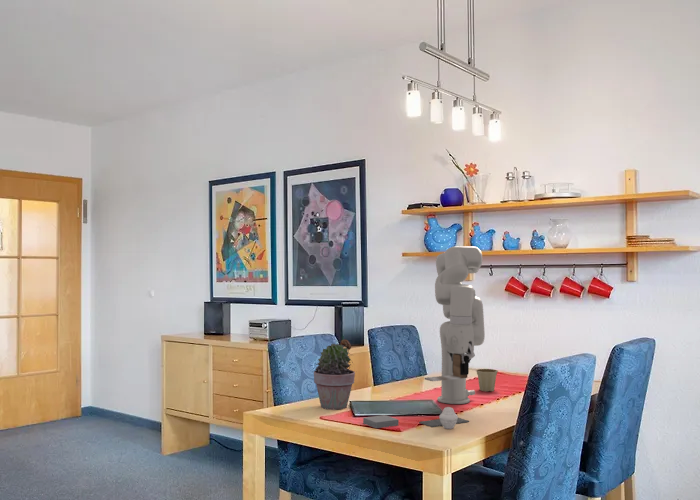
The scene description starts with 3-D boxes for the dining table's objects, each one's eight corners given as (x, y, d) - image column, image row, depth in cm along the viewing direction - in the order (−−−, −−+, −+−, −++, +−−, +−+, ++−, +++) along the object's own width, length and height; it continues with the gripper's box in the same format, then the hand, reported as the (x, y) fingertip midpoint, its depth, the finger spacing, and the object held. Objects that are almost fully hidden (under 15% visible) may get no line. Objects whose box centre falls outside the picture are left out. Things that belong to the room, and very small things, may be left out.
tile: (385, 415, 238) (363, 417, 233) (398, 419, 231) (376, 422, 227) (385, 421, 238) (363, 424, 233) (398, 426, 231) (376, 429, 226)
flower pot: (475, 391, 293) (475, 371, 293) (475, 388, 302) (475, 368, 302) (498, 392, 291) (498, 372, 292) (497, 388, 301) (497, 369, 301)
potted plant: (299, 410, 252) (300, 342, 253) (320, 400, 271) (321, 337, 271) (346, 414, 246) (346, 344, 246) (363, 404, 264) (364, 339, 265)
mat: (455, 417, 243) (455, 416, 243) (468, 422, 237) (468, 420, 237) (419, 422, 235) (419, 421, 235) (431, 427, 229) (431, 426, 229)
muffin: (445, 430, 224) (445, 409, 224) (435, 426, 230) (435, 405, 230) (461, 429, 227) (461, 407, 227) (451, 425, 232) (451, 404, 232)
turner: (460, 376, 242) (460, 353, 243) (468, 378, 239) (468, 354, 239) (424, 379, 234) (424, 355, 235) (432, 381, 231) (432, 357, 231)
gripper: (437, 319, 245) (437, 371, 245) (468, 323, 231) (467, 378, 231) (454, 318, 249) (453, 369, 249) (485, 322, 235) (484, 376, 234)
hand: (460, 373), depth 240 cm, fingers closed on turner, 3 cm apart
